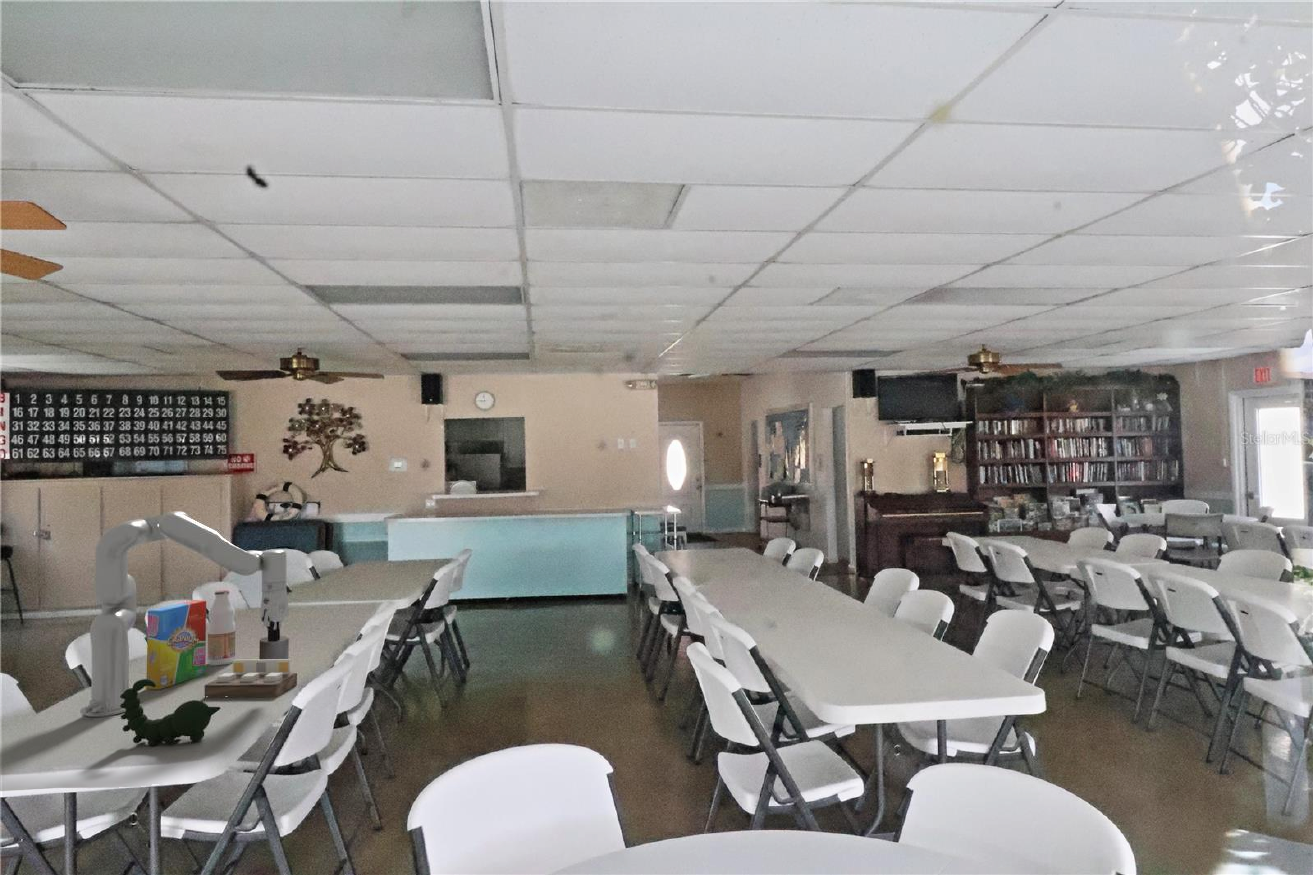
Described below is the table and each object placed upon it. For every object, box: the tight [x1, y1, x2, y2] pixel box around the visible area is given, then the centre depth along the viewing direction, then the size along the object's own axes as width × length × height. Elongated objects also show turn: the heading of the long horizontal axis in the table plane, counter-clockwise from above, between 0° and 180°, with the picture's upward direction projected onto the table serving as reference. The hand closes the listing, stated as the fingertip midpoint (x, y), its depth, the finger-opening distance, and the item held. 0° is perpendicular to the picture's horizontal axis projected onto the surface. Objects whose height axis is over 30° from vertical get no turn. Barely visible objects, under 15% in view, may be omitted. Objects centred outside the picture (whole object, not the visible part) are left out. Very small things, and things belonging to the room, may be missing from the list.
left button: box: [217, 672, 236, 682], centre depth 255 cm, size 4×4×2 cm
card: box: [232, 658, 291, 675], centre depth 262 cm, size 1×20×5 cm, turn 89°
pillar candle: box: [258, 634, 290, 659], centre depth 274 cm, size 10×10×15 cm
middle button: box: [241, 673, 259, 682], centre depth 255 cm, size 4×4×2 cm
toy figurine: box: [120, 678, 221, 747], centre depth 209 cm, size 9×19×25 cm
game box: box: [145, 599, 207, 690], centre depth 269 cm, size 21×6×27 cm, turn 168°
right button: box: [265, 673, 283, 682], centre depth 255 cm, size 4×4×2 cm
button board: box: [204, 672, 298, 698], centre depth 256 cm, size 14×24×4 cm, turn 89°
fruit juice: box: [207, 589, 237, 666], centre depth 294 cm, size 9×9×28 cm
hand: (273, 640), depth 255 cm, fingers closed
